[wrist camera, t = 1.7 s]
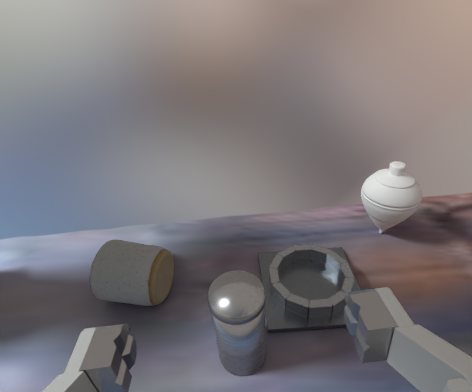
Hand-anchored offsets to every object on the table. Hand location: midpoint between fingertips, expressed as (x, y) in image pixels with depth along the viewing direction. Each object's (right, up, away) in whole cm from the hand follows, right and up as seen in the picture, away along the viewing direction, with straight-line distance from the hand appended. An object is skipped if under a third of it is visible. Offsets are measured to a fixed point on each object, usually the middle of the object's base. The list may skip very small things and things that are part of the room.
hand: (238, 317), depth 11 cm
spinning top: (+22, -1, +35) cm, 42 cm away
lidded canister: (+1, -12, +21) cm, 25 cm away
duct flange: (+9, -7, +28) cm, 30 cm away
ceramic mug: (-13, -8, +31) cm, 34 cm away
